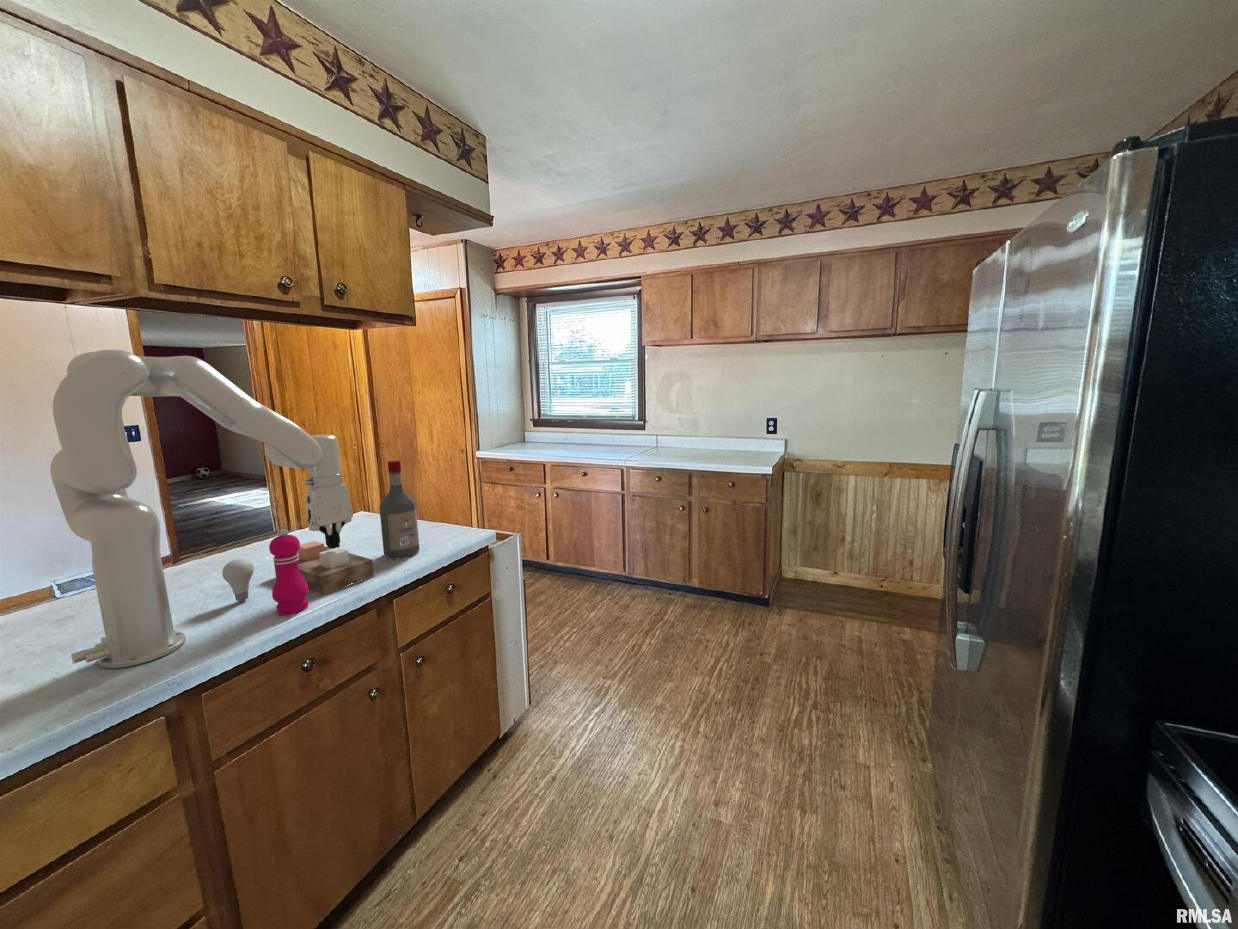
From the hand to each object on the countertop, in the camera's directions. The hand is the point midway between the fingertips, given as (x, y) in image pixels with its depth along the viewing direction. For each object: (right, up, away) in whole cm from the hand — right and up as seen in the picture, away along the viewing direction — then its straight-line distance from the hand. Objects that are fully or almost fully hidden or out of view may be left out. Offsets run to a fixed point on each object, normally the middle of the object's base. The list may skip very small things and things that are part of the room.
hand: (333, 547), depth 131 cm
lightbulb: (-17, -12, -11) cm, 23 cm away
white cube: (0, -6, +1) cm, 6 cm away
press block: (-5, -9, +4) cm, 11 cm away
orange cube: (-10, -5, +7) cm, 14 cm away
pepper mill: (-1, -13, -15) cm, 20 cm away
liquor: (+8, -6, +23) cm, 25 cm away
